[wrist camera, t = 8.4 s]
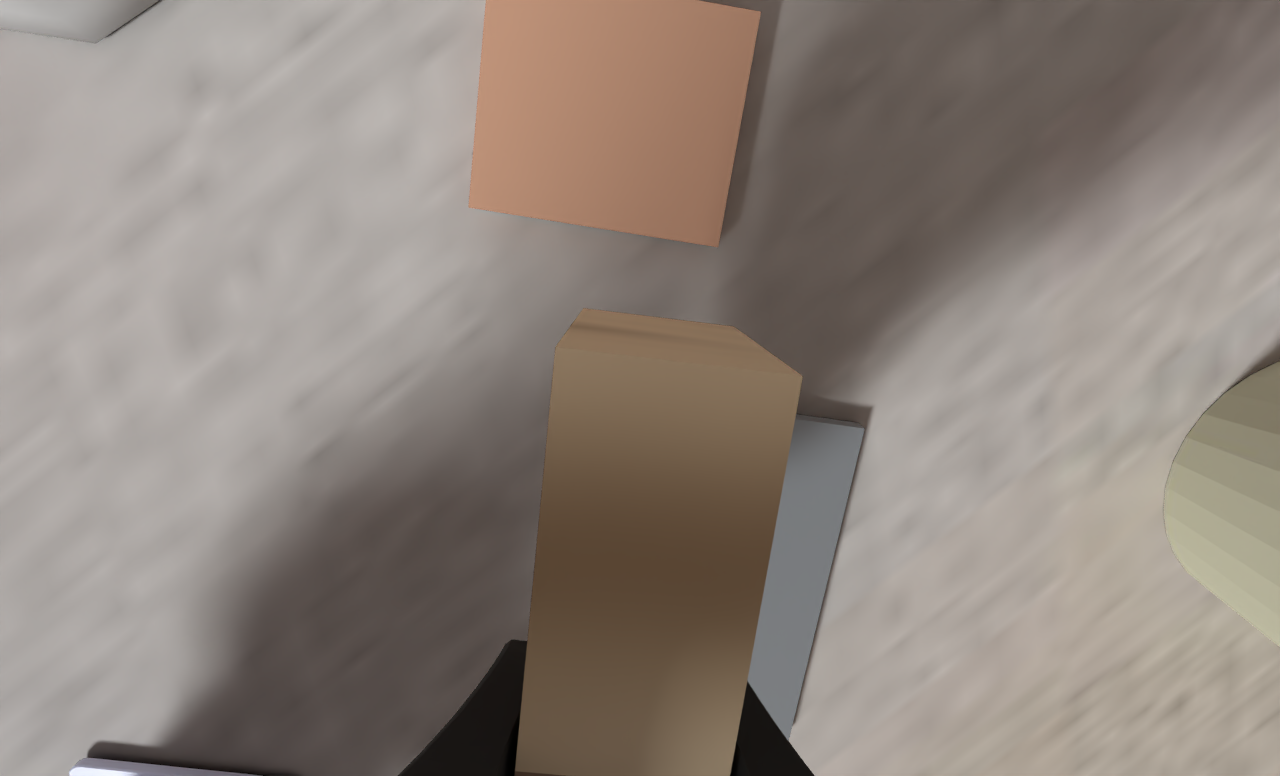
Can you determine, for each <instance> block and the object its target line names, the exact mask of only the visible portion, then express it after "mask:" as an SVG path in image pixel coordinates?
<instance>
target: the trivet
mask: <svg viewBox="0 0 1280 776" xmlns="http://www.w3.org/2000/svg"><path fill="white" fill-rule="evenodd" d="M864 430H865V428H864V427H862V426H861V425H860V424H859V423H856V422H849V421H842V420H834V419H827V418H820V417H813V416H805V415H798V414H796V417H795V422H794V428H793V433H792V439H791V444H790V450H789V455H788V461H787V466H786V472H785V477H784V483H783V488H782V494H781V499H780V505H779V510H778V516H777V521H776V527H775V532H774V537H773V543H772V548H771V554H770V559H769V565H768V570H767V576H766V581H765V587H764V592H763V598H762V603H761V609H760V614H759V620H758V625H757V631H756V636H755V642H754V647H753V653H752V658H751V664H750V669H749V674H748V680H747V681H748V682H749V684H750V685H751V687H752V688H753V690H754V692H755V693H756V695H757V696H758V698H759V699H760V701H761V702H762V704H763V705H764V707H765V708H766V710H767V711H768V713H769V714H770V716H771V717H772V719H773V720H774V721H775V723H776V724H777V726H778V727H779V729H780V730H781V731H782V733H783V734H784V736H785V737H786V738H787V740H788V741H789V737H790V733H791V729H792V725H793V721H794V716H795V712H796V708H797V704H798V700H799V696H800V692H801V688H802V684H803V680H804V675H805V671H806V667H807V663H808V659H809V655H810V651H811V647H812V643H813V639H814V635H815V630H816V626H817V622H818V618H819V614H820V610H821V606H822V602H823V598H824V594H825V590H826V585H827V581H828V577H829V573H830V569H831V565H832V561H833V557H834V553H835V549H836V544H837V540H838V536H839V532H840V528H841V524H842V520H843V516H844V512H845V508H846V504H847V499H848V495H849V491H850V487H851V483H852V479H853V475H854V471H855V467H856V463H857V458H858V454H859V450H860V446H861V442H862V438H863V434H864Z"/></svg>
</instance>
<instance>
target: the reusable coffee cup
mask: <svg viewBox="0 0 1280 776" xmlns="http://www.w3.org/2000/svg"><path fill="white" fill-rule="evenodd" d="M1163 513H1164V520H1165V528H1166V534H1167V537H1168V540H1169V542H1170V545H1171V547H1172V550H1173V553H1174V555H1175V556H1176V557H1177V559H1178V560H1179V562H1180V563H1181V564H1182V566H1183V567H1184V569H1185V570H1186V571H1187V572H1188V573H1189V574H1190V575H1191V576H1192V577H1194V578H1195V579H1196V580H1197V581H1198V582H1199V583H1201V584H1202V585H1203V586H1204V587H1205V588H1207V589H1208V590H1209V591H1210V592H1212V593H1213V594H1214V595H1215V596H1217V597H1218V598H1219V599H1220V600H1222V601H1223V602H1224V603H1225V604H1226V605H1228V606H1229V607H1230V608H1231V609H1233V610H1234V611H1235V612H1236V613H1238V614H1239V615H1240V616H1241V617H1243V618H1244V619H1245V620H1246V621H1247V622H1249V623H1250V624H1251V625H1252V626H1254V627H1255V628H1256V629H1257V630H1259V631H1260V632H1261V633H1262V634H1264V635H1265V636H1266V637H1267V638H1269V639H1270V640H1271V641H1272V642H1273V643H1275V644H1276V645H1277V646H1278V647H1280V361H1279V362H1276V363H1274V364H1272V365H1270V366H1268V367H1266V368H1264V369H1262V370H1260V371H1258V372H1256V373H1254V374H1252V375H1250V376H1248V377H1247V378H1245V379H1244V380H1243V381H1241V382H1240V383H1238V384H1237V385H1236V386H1234V387H1233V388H1231V389H1230V390H1228V391H1227V392H1226V393H1224V394H1223V395H1222V396H1221V397H1220V398H1219V399H1218V400H1217V401H1216V402H1215V403H1214V404H1213V405H1212V406H1211V407H1210V408H1209V409H1208V410H1207V411H1206V412H1205V413H1204V414H1203V415H1202V416H1201V417H1200V419H1199V420H1198V421H1197V423H1196V424H1195V425H1194V427H1193V428H1192V429H1191V431H1190V432H1189V433H1188V435H1187V436H1186V438H1185V440H1184V442H1183V443H1182V445H1181V447H1180V449H1179V451H1178V453H1177V455H1176V457H1175V459H1174V461H1173V464H1172V467H1171V470H1170V474H1169V477H1168V480H1167V483H1166V487H1165V498H1164V508H1163Z"/></svg>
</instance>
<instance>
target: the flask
mask: <svg viewBox="0 0 1280 776" xmlns="http://www.w3.org/2000/svg"><path fill="white" fill-rule="evenodd" d="M158 1H159V0H0V29H3V30H10V31H17V32H23V33H30V34H37V35H43V36H50V37H56V38H63V39H70V40H76V41H83V42H90V43H97V42H99V41H100V40H102V39H103V38H105V37H106V36H108V35H109V34H111V33H112V32H113V31H115V30H116V29H118V28H119V27H121V26H122V25H124V24H125V23H127V22H128V21H130V20H131V19H133V18H134V17H136V16H137V15H138V14H140V13H141V12H143V11H144V10H146V9H147V8H149V7H150V6H152V5H153V4H155V3H156V2H158Z"/></svg>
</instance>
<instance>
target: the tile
mask: <svg viewBox="0 0 1280 776" xmlns="http://www.w3.org/2000/svg"><path fill="white" fill-rule="evenodd" d="M760 15H761V12H760V11H755V10H749V9H744V8H738V7H733V6H727V5H722V4H716V3H711V2H705V1H700V0H486V6H485V18H484V30H483V41H482V53H481V65H480V77H479V89H478V101H477V113H476V124H475V136H474V148H473V160H472V172H471V184H470V196H469V208H475V209H481V210H488V211H494V212H500V213H506V214H513V215H519V216H525V217H531V218H538V219H544V220H550V221H556V222H563V223H569V224H575V225H581V226H588V227H594V228H600V229H606V230H613V231H619V232H625V233H631V234H638V235H644V236H650V237H656V238H663V239H669V240H675V241H681V242H688V243H694V244H700V245H706V246H713V247H718V246H719V240H720V235H721V229H722V224H723V218H724V213H725V207H726V202H727V196H728V191H729V185H730V180H731V174H732V169H733V163H734V158H735V152H736V147H737V141H738V136H739V130H740V125H741V119H742V114H743V108H744V103H745V97H746V92H747V86H748V81H749V75H750V70H751V64H752V59H753V53H754V48H755V42H756V37H757V31H758V26H759V20H760Z"/></svg>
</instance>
